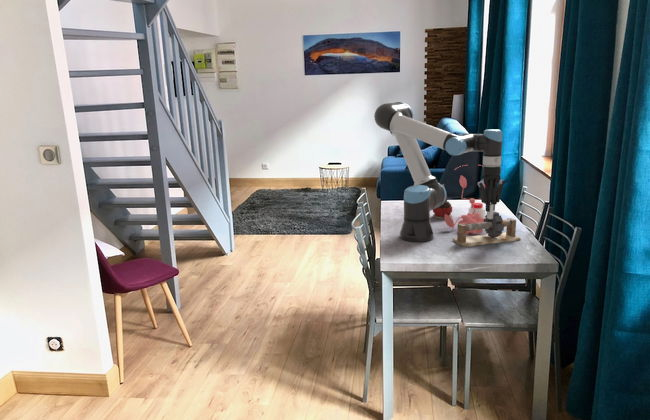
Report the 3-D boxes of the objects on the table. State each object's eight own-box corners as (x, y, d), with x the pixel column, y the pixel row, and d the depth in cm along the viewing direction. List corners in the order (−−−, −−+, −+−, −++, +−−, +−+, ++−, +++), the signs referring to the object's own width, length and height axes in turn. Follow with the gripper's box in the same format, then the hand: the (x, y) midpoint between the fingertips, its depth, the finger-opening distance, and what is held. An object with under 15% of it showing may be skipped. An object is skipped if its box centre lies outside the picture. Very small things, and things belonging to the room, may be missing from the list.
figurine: (500, 183, 264) (499, 243, 246) (447, 180, 271) (443, 239, 253) (503, 164, 252) (502, 226, 234) (448, 162, 258) (442, 222, 240)
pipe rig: (464, 246, 227) (465, 227, 225) (452, 240, 236) (453, 221, 234) (520, 240, 234) (521, 221, 232) (506, 234, 243) (507, 215, 241)
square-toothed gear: (497, 240, 230) (498, 215, 227) (483, 233, 240) (484, 210, 238) (503, 239, 231) (504, 215, 228) (488, 232, 241) (490, 209, 239)
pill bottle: (466, 226, 257) (467, 204, 255) (469, 222, 264) (470, 201, 262) (482, 228, 254) (483, 206, 251) (485, 224, 261) (486, 202, 258)
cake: (447, 221, 269) (448, 186, 265) (430, 219, 274) (431, 185, 270) (454, 216, 278) (455, 182, 274) (437, 214, 283) (438, 181, 279)
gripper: (483, 167, 222) (481, 221, 228) (510, 165, 225) (507, 218, 231) (473, 165, 229) (472, 217, 235) (500, 163, 232) (497, 215, 238)
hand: (489, 218), depth 233 cm, fingers closed
